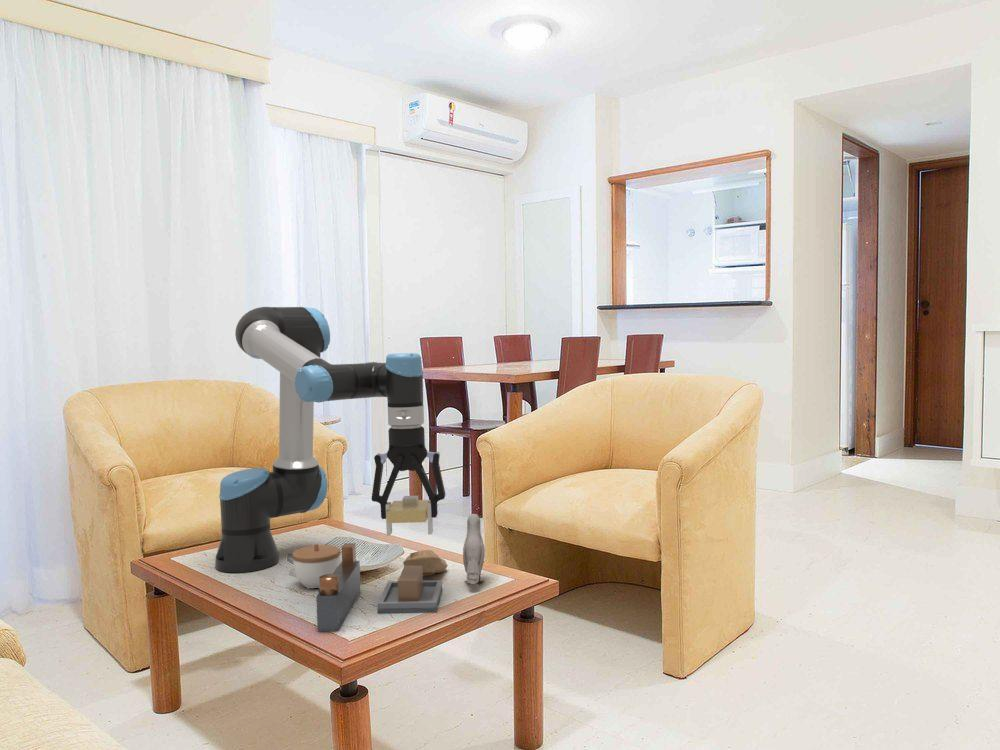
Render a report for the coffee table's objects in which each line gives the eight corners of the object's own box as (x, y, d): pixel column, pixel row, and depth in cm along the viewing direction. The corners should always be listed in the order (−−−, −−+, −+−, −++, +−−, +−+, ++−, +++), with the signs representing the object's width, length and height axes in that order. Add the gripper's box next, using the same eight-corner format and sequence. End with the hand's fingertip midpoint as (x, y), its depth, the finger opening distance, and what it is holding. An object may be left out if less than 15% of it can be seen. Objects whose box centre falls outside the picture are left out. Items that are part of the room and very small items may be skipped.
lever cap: (394, 512, 163) (393, 495, 163) (430, 511, 163) (430, 494, 163) (386, 523, 153) (386, 505, 153) (425, 522, 153) (425, 504, 153)
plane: (342, 592, 165) (340, 543, 164) (360, 592, 165) (358, 543, 164) (317, 631, 143) (315, 575, 143) (338, 631, 143) (336, 574, 142)
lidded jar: (351, 580, 173) (349, 540, 173) (319, 595, 164) (318, 553, 163) (315, 574, 178) (314, 535, 178) (283, 588, 169) (281, 547, 168)
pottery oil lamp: (460, 573, 177) (459, 543, 177) (424, 587, 168) (423, 556, 167) (433, 566, 182) (432, 538, 182) (397, 580, 173) (396, 549, 173)
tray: (388, 590, 166) (387, 563, 166) (442, 589, 166) (441, 562, 166) (377, 613, 152) (376, 584, 152) (436, 612, 152) (435, 583, 152)
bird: (486, 573, 176) (484, 510, 176) (483, 592, 163) (482, 524, 162) (465, 573, 177) (464, 510, 176) (461, 592, 163) (459, 525, 162)
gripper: (353, 429, 153) (357, 539, 154) (454, 426, 153) (458, 536, 154) (360, 425, 161) (364, 530, 162) (456, 423, 161) (460, 527, 162)
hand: (410, 533), depth 158 cm, fingers closed on lever cap, 8 cm apart
